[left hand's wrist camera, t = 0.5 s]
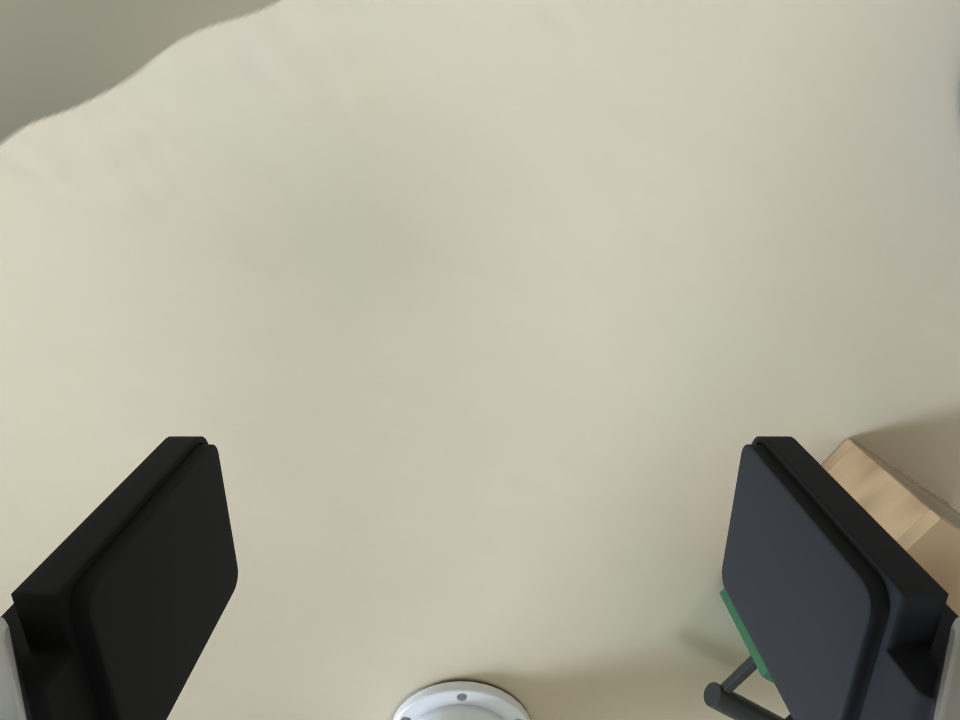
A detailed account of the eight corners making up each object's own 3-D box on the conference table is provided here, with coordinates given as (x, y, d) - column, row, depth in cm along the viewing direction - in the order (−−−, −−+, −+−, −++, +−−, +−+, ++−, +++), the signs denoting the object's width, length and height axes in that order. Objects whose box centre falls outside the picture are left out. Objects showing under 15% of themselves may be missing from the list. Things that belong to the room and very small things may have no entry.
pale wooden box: (829, 620, 51) (905, 729, 42) (728, 561, 49) (785, 662, 40) (951, 506, 47) (1064, 599, 38) (847, 437, 45) (940, 517, 36)
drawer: (761, 689, 52) (807, 781, 45) (672, 640, 51) (705, 729, 43) (919, 543, 47) (1000, 621, 40) (826, 483, 45) (893, 553, 38)
